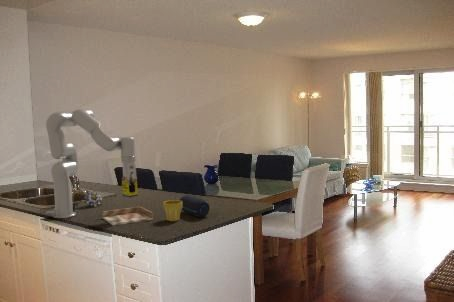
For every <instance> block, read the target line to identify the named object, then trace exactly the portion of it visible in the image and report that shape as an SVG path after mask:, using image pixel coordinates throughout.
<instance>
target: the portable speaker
mask: <svg viewBox="0 0 454 302" xmlns="http://www.w3.org/2000/svg"><path fill="white" fill-rule="evenodd" d="M178 200H179V201H182V203H183V207H182V209H181V211H182V212H184V213H187V214H189V215H191V216H195V217H196V218H204V217H206V216H207V215H208V213H209V211H210V204H209V202H208V201H207V200H205V199H204V198H200V197H198V196H195V195H194V196H193V195H190V194H185V195H183V196H181V197H180V199H178Z"/></svg>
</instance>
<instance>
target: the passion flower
mask: <svg viewBox="0 0 454 302" xmlns="http://www.w3.org/2000/svg"><path fill="white" fill-rule="evenodd" d="M88 192H89V193H87V194H86V193H85V194H84V195H83V196H82V197H83V199H85V204H86V205H87V204H89V206H90V207H94V208H96V207H97V205H102V204H103V202H102V200H103V197H101V196H102V195H101V194H98V191H96V192H94V191H93V190H89V191H88Z"/></svg>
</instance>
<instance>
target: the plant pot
mask: <svg viewBox="0 0 454 302" xmlns="http://www.w3.org/2000/svg"><path fill="white" fill-rule="evenodd" d="M179 200H180V199H178V200H177V199H174V200H171V199H170V200H166V201H164V202H163V203H162V204H163V205H162V206H163V209H164V213H165V217H166V221H169V222H177V220H178V221H179V220H180V218H181V212H182V210H181V209H182V207H183V203H182V201H179Z"/></svg>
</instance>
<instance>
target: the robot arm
mask: <svg viewBox="0 0 454 302" xmlns="http://www.w3.org/2000/svg"><path fill="white" fill-rule="evenodd" d="M101 123H102V122H101V121H98V120H97V118H95V114H94V112H93V111H92V110H90V109H87V108H77V109H75V110H73V111H56V112H53V113H51V114H50V115H49V116H48V117H47V119H46V122H45V127H46V132H47V136H48V142H49V149H50V154H51V157H52V158H53V159H54V160H62V161H58V162H55V163H54V164H53V165H52V167H51V168H50V169H51V170H50V171H51V173H50V174H51V177H52V181H53V193H54V208H53V209H52V210H47V211H46V215H52V218H54V219H66V218H67V219H68V218H72V217H75V216H76V215H77V212H76V211H74V209H73V207H74V206H73V204H74V203H73V190H72V189H73V187H72V183H71V182H72V181H71V180H70V177H72V176H75V175H77V174H78V172H79V161H78V155H77V154H78V153H77V149H76V147H75V145H74V144H73V143H72V142H70V141H66V138H65V134H64V131H63V129H62V127H63V128H65V127H75V126H79V127H80V128H82V129H83V130H84V132H85V131H86V132H87V133H88V134H89V135H90V137H91V139H92V140H93V141H94V143H95V144H96V145H98V146H99V147H100V148H102V149H103V150H105V151H107V152H114V151H120V160H121V161H120V162H121V163H122V177H126V178H127V180H129V192H135V180H136V179H137V180H138V177H137V168H136V163H135V162H136V148H135V147H136V144H135V138H134V136H133V137H132V136H123V137H122V136H109V135H108V134H106V133H105V132H103V130H102V129H101V128H102V124H101ZM130 178H132V179H130ZM130 181H131V182H130Z"/></svg>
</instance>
